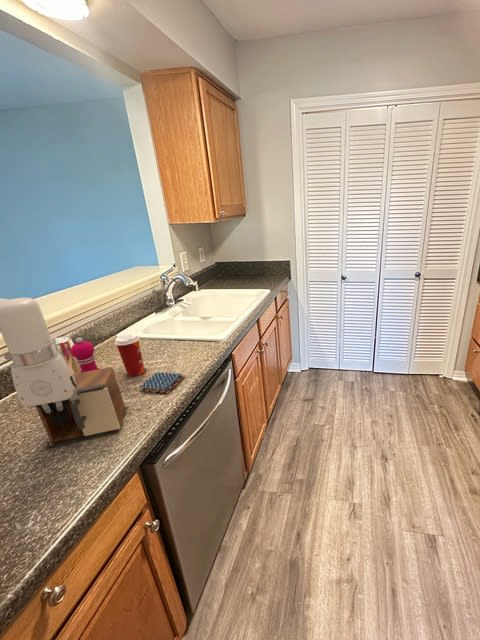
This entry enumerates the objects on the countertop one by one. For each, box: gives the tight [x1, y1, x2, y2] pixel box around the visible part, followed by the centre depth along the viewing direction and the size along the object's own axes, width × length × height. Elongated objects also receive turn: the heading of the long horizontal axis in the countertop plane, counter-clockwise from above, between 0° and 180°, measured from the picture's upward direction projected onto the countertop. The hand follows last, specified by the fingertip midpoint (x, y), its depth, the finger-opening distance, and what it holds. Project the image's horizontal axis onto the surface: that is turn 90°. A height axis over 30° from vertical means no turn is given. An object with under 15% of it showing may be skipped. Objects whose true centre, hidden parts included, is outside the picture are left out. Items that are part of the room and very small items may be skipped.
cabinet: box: [35, 366, 126, 448], centre depth 87 cm, size 16×12×14 cm
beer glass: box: [52, 335, 81, 374], centre depth 112 cm, size 7×7×15 cm
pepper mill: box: [71, 337, 100, 372], centre depth 101 cm, size 7×7×20 cm
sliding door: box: [69, 388, 121, 436], centre depth 82 cm, size 8×5×13 cm, turn 108°
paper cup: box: [114, 333, 145, 377], centre depth 114 cm, size 8×8×14 cm
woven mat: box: [139, 371, 185, 394], centre depth 108 cm, size 10×11×2 cm
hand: (62, 422), depth 78 cm, fingers closed
